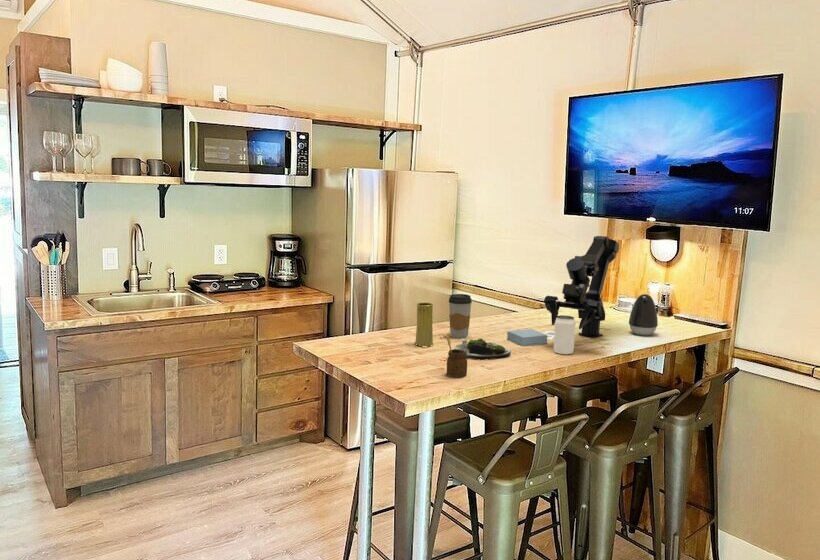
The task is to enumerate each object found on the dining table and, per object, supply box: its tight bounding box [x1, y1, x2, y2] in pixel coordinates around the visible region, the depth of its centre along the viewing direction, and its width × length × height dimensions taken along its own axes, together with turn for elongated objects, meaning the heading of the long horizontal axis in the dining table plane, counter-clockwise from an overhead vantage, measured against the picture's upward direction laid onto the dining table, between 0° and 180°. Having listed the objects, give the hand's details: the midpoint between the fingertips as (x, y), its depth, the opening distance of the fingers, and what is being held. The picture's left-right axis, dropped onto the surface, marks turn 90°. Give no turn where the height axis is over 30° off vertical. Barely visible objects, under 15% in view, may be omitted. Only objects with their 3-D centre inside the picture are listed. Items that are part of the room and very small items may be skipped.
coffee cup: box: [448, 293, 473, 339], centre depth 232 cm, size 8×8×15 cm
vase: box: [414, 302, 434, 347], centre depth 220 cm, size 6×6×14 cm
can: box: [553, 314, 576, 356], centre depth 213 cm, size 6×6×12 cm
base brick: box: [506, 328, 548, 347], centre depth 228 cm, size 10×10×3 cm
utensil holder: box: [445, 333, 468, 378], centre depth 187 cm, size 6×6×12 cm
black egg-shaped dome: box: [628, 293, 659, 336], centre depth 241 cm, size 10×10×15 cm
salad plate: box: [454, 338, 512, 361], centre depth 213 cm, size 19×18×5 cm
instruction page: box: [541, 330, 555, 341], centre depth 237 cm, size 12×9×1 cm
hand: (565, 326), depth 214 cm, fingers open, 9 cm apart
